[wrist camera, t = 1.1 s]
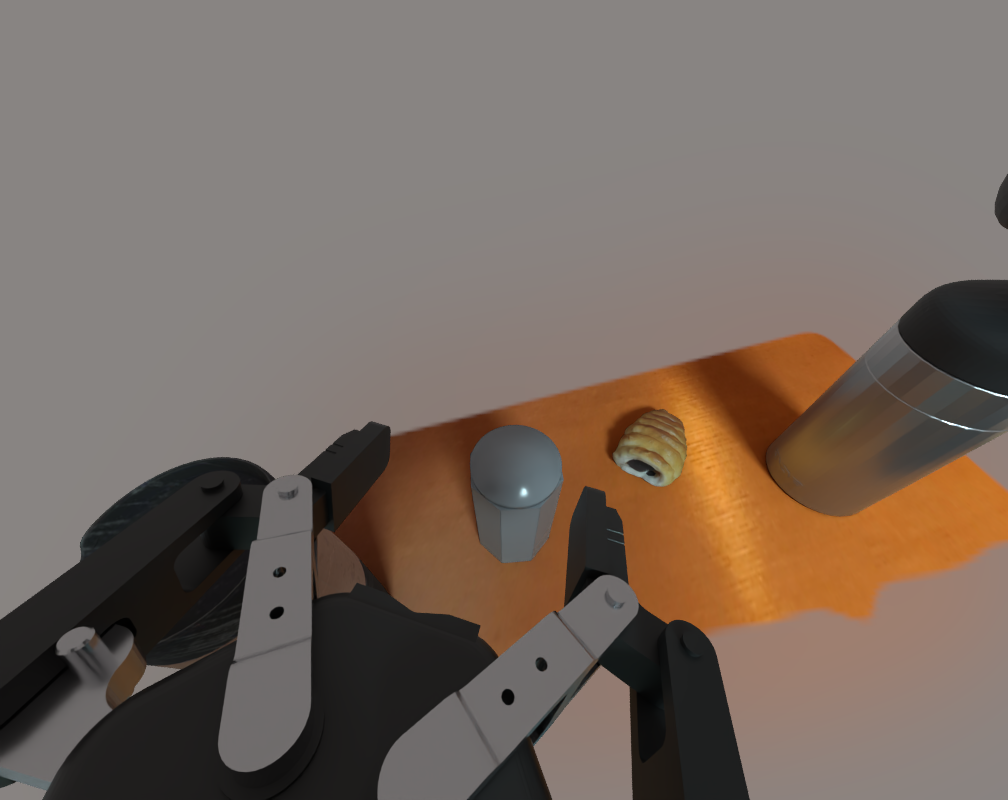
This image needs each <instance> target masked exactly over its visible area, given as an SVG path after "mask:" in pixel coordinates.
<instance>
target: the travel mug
mask: <svg viewBox="0 0 1008 800" xmlns="http://www.w3.org/2000/svg"><path fill="white" fill-rule="evenodd" d="M213 471H231V472H234V473H235V474H237V475H238V476H239V478H240V482H241V484H248V485H268V484H269V483H271V482H272V481H274V480H276V479H275V478H274V477H272V476H271V475H270V474H269V473H268V472H267V471H266V470H264V469H262V468H261V467H259V466H258V465H256V464H254V463H251V462H249V461H246V460H242V459H238V458H229V457H217V458H208V459H202V460H198V461H193V462H190V463H187V464H183V465H181V466H178V467H175V468H173V469H170V470H168V471H166V472H163V473H161V474H159V475H157V476H155V477H154V478H152V479H150V480H148V481H147V482H145V483H143V484H141V485H140V486H138V487H137V488H135V489H134V490H132V491H131V492H129V493H128V494H126V495H125V496H124V497H122V498H121V499H120V500H118V501H117V502H116V503H115V504H114V505H112V506H111V507H110V508H109V509H108V510H107V511H106V512H105V513H103V514H102V515H101V516H100V517H99V519H97V520H96V521H95V522H94V523H93V524H92V526H91V527H90V528H89V529H88V530H87V531H86V533H85V534H84V536H83V537H82V540H81V542H80V548H81V560H80V562H81V561H82V560H83V559H85V558H86V557H88V556H89V555H90V554H92V553H93V552H94V551H96V550H97V549H99V548H100V547H101V546H103V545H104V544H105V543H107V542H108V541H110V540H111V539H112V538H114V537H115V536H116V535H118V534H119V533H121V532H122V531H123V530H125V529H126V528H127V527H129V526H130V525H132V524H133V523H134V522H136V521H137V520H138V519H140V518H141V517H143V516H144V515H145V514H147V513H148V512H149V511H151V510H152V509H154V508H155V507H156V506H158V505H159V504H160V503H162V502H163V501H165V500H166V499H167V498H169V497H170V496H171V495H173V494H174V493H176V492H177V491H178V490H180V489H181V488H182V487H184V486H185V485H187V484H188V483H189V482H191V481H192V480H194V479H195V478H197V477H199V476H201V475H203V474H206V473H209V472H213ZM317 539H318V578H319V597H322V596H326V595H329V594H335V593H344V592H351V591H352V589H353V588H354V586H355V585H356V583H359V584H362V585H365V586H368V587H371V588H374V589H377V590H379V591H382V592H385V593H387V591H386V590H385V588H384V587H383V586H382V584H381V583H380V582H379V581H378V580H377V579H376V577H375V576H374V575H373V574H372V573H371V572H370V571H369V569H368V568H367V567H366V566H365V565H364V564H363V562H362V561H361V560H360V559H359V558H358V557H357V556H356V555H355V553H354V552H353V551H352V550H351V549H349V548H348V547H347V546H346V545H345V544H344V543H343V542H342V541H341V540H340V539H339V538H338V537H337V536H336V535H335V534H333V533H332V532H331V531H330V530H327V529H323V530H322V531H321V532H320V533H319V535H318V536H317ZM249 555H250V550H245V551H244V552H243V553H242V554H241V555H240V556H239V557H238V558H237V559H236V561H235V562H234V563H233V564H232V565H231V566H230V567H229V568H228V569H227V570H226V571H225V572H224V573H223V574H222V575H221V576H220V578H219V579H218V580H217V581H216V582H215V583H214V584H213V585H212V586H211V587H210V588H209V589H208V590H207V591H206V592H205V593H204V595H203V596H202V597H201V598H200V599H199V600H198V601H197V602H196V603H195V604H194V605H193V606H192V607H191V608H190V609H189V611H188V612H187V613H186V614H185V615H184V616H183V617H182V618H181V619H180V620H179V621H178V622H177V623H176V624H175V625H174V626H173V628H172V629H171V630H170V631H169V632H168V633H167V634H166V635H165V636H164V637H163V638H162V639H161V640H160V641H159V642H158V643H157V645H156V646H155V647H154V648H153V649H152V650H151V651H150V652H149V653H148V654H147V655H146V658H147V665H151V666H160V667H168V668H176V669H183V668H185V667H187V666H189V665H191V664H192V663H194V662H196V661H198V660H200V659H202V658H204V657H206V656H208V655H209V654H211V653H213V652H215V651H217V650H219V649H221V648H223V647H225V646H226V645H228V644H230V643H232V642H234V641H236V640H237V637H238V630H239V623H240V616H241V610H242V603H243V596H244V589H245V582H246V575H247V568H248V562H249ZM387 594H388V593H387Z"/></svg>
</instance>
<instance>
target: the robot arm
mask: <svg viewBox="0 0 1008 800" xmlns="http://www.w3.org/2000/svg"><path fill="white" fill-rule="evenodd" d="M995 215H996V217H997V219H998V221H999V223H1000V224H1001V225H1002V226H1003V227H1005V228H1006V229H1008V174H1007V176H1006V177H1005V179H1004V181H1003V183H1002V184H1001V186H1000V188H999V191H998V194H997V198H996V202H995ZM1006 432H1008V280H968V281H958V282H953V283H949V284H945V285H942V286H940V287H937V288H935V289H934V290H932V291H930V292H929V293H927V294H926V295H924V296H923V297H922V298H921V299H920V300H918V302H916V303H915V304H914V306H912V307H911V308H910V309H909V310H908V311H907V312H906V313H905V314H904V315H903V316H902V317H901V318H900V319H899V320H898V321H897V322H896V323H895V324H894V325H893V326H892V327H891V328H890V329H889V330H888V331H887V332H886V333H885V334H884V335H883V336H882V337H881V338H880V339H879V340H878V341H877V342H876V343H874V345H872V346H871V348H869V350H868V351H867V352H866V353H865V354H863V355H862V357H860V358H859V359H858V360H857V361H856V362H855V363H854V364H853V365H852V366H851V367H850V368H849V369H848V370H847V371H846V372H845V373H844V374H843V375H842V376H841V377H840V378H839V379H838V380H837V381H836V382H835V383H834V384H833V385H832V386H831V387H830V388H828V389H827V390H826V391H825V392H824V393H823V394H822V395H821V396H820V397H819V398H818V399H817V400H816V401H815V402H814V403H813V404H812V405H811V406H810V407H809V408H808V409H807V410H806V411H805V412H804V413H803V414H802V415H801V416H800V417H799V418H798V419H797V420H796V421H795V422H793V423H792V424H791V425H790V426H789V427H788V428H787V429H786V430H785V431H784V432H783V433H782V434H781V435H780V436H779V437H778V438H777V439H776V440H775V441H774V442H773V443H772V444H771V445H770V446H769V448H768V450H767V453H766V462H767V466H768V469H769V471H770V473H771V475H772V477H773V478H774V480H775V481H776V482H777V484H778V485H779V486H780V487H781V488H782V489H783V490H784V491H785V492H786V493H787V494H788V495H790V496H791V497H792V498H793V499H795V500H796V501H798V502H799V503H801V504H803V505H804V506H806V507H808V508H810V509H813V510H815V511H817V512H820V513H824V514H827V515H833V516H850V515H853V514H856V513H858V512H860V511H862V510H864V509H866V508H867V507H869V506H871V505H873V504H875V503H877V502H879V501H880V500H882V499H884V498H886V497H888V496H890V495H892V494H894V493H896V492H897V491H899V490H901V489H903V488H905V487H907V486H908V485H910V484H912V483H914V482H916V481H918V480H919V479H921V478H923V477H925V476H927V475H929V474H931V473H932V472H934V471H936V470H938V469H940V468H942V467H943V466H945V465H947V464H949V463H951V462H953V461H954V460H956V459H958V458H960V457H962V456H964V455H966V454H967V453H969V452H971V451H973V450H975V449H977V448H978V447H980V446H982V445H984V444H986V443H987V442H989V441H991V440H993V439H995V438H997V437H999V436H1000V435H1002V434H1004V433H1006ZM390 433H391V430H390V427H389V426H385V425H382V424H379V423H376V422H369V423H368V424H367V425H366V426H365V427H364V428H363V429H361V430H360V431H358V430H353V431H350V432H348V433H346V434H343V435H342V436H341V437H340V438H338V439H337V440H336V441H335V442H334V443H333V445H330V446H329V447H328V448H327V449H326V451H324V452H323V453H321V454H320V455H319V456H318V457H317V458H316V459H315V460H314V461H313V462H311V463H310V464H309V465H308V466H307V467H306V468H305V469H303V470H302V471H301V472H300V473H299V474H298V475H288V476H283V477H280V478H278V479H276V480H274V481H272V482H271V483H269V484H268V485H248V484H241V482H240V478H239V476H238V475H237V474H235V473H234V472H231V471H213V472H209V473H206V474H203V475H201V476H199V477H197V478H195V479H194V480H192V481H191V482H189V483H188V484H187V485H185V486H184V487H182V488H181V489H180V490H178V491H177V492H176V493H174V494H173V495H171V496H170V497H169V498H167V499H166V500H165V501H163V502H162V503H160V504H159V505H158V506H156V507H155V508H154V509H152V510H151V511H149V512H148V513H147V514H145V515H144V516H143V517H141V518H140V519H138V520H137V521H136V522H134V523H133V524H132V525H130V526H129V527H127V528H126V529H125V530H123V531H122V532H121V533H119V534H118V535H116V536H115V537H114V538H112V539H111V540H110V541H108V542H107V543H105V544H104V545H103V546H101V547H100V548H99V549H97V550H96V551H94V552H93V553H92V554H90V555H89V556H88V557H86V558H85V559H83V560H82V561H81V562H79V563H78V564H77V565H75V566H74V567H72V568H71V569H70V570H68V571H67V572H66V573H64V574H63V575H61V576H60V577H59V578H57V579H56V580H55V581H53V582H52V583H50V584H49V585H48V586H46V587H45V588H44V589H42V590H41V591H40V592H38V593H37V594H35V595H34V596H33V597H32V598H30V599H28V600H27V601H26V602H24V603H23V604H22V605H20V606H19V607H18V608H16V609H15V610H13V611H12V612H11V613H9V614H8V615H6V616H5V617H4V618H2V619H1V620H0V788H2V787H5V786H8V785H10V784H13V783H15V782H20V783H24V784H27V785H30V786H33V787H36V788H39V789H43V790H46V791H47V792H46V794H45V796H44V797H43V799H42V800H552V798H551V795H550V792H549V789H548V787H547V784H546V781H545V778H544V775H543V773H542V770H541V767H540V764H539V761H538V758H537V756H536V753H535V750H534V747H533V746H534V745H535V744H536V743H537V742H538V740H539V739H540V738H541V737H542V736H543V735H544V733H545V732H546V731H547V730H548V729H549V728H550V726H551V725H552V724H553V723H554V721H555V720H556V719H557V718H558V716H559V715H560V714H561V712H562V711H563V710H564V708H565V707H566V706H567V705H568V704H569V702H570V701H571V700H572V699H573V698H574V697H575V695H576V694H577V693H578V692H579V691H580V690H581V688H582V687H583V686H584V685H585V684H586V683H587V681H588V680H589V679H590V678H591V677H592V676H593V675H594V673H595V672H596V671H597V670H598V669H599V668H600V666H601V665H602V666H603V667H604V668H606V669H607V670H608V671H610V672H611V673H612V674H614V675H615V676H616V677H618V678H619V679H620V680H622V681H623V682H625V683H626V684H627V685H628V686H630V715H631V716H630V718H631V754H632V790H633V800H750V799H749V795H748V790H747V786H746V782H745V777H744V773H743V768H742V764H741V760H740V755H739V751H738V747H737V742H736V738H735V734H734V729H733V725H732V720H731V716H730V712H729V707H728V703H727V699H726V694H725V690H724V685H723V681H722V677H721V672H720V668H719V664H718V659H717V655H716V652H715V650H714V647H713V646H712V644H711V642H710V641H709V639H708V638H707V637H706V635H705V634H704V633H703V632H702V631H701V630H700V629H698V628H697V627H696V626H694V625H692V624H691V623H689V622H686V621H683V620H674V621H671V622H670V623H669V624H666V623H665V622H663V621H662V620H660V619H659V618H657V617H656V616H654V615H653V614H651V613H650V612H648V611H647V610H645V609H644V608H643V607H642V606H641V605H640V604H639V603H638V600H637V597H636V595H635V593H634V591H633V590H632V589H631V587H630V586H629V584H628V575H627V565H626V555H625V546H624V536H623V524H622V520H621V518H620V516H619V515H618V513H617V511H616V509H613V508H610V507H607V506H606V495H605V492H604V491H601V490H597V489H594V488H591V487H587V486H585V487H584V489H583V491H582V494H581V496H580V499H579V501H578V503H577V506H576V508H575V511H574V513H573V516H572V520H571V524H570V531H569V546H568V560H567V574H566V588H565V603H564V608H563V609H562V610H561V611H559V612H558V613H557V612H556V611H553V612H551V613H550V614H548V615H547V616H546V617H545V618H544V619H542V620H541V621H540V622H539V623H538V624H537V625H535V626H534V627H533V628H532V629H531V630H530V631H529V632H527V633H526V634H525V635H524V636H523V637H522V638H520V639H519V640H518V641H517V642H516V643H515V644H513V645H512V646H511V647H510V648H509V649H508V650H507V651H505V652H504V653H503V654H502V655H501V656H500V657H498V656H497V654H496V653H495V651H494V650H493V649H492V648H491V647H490V646H489V645H488V644H487V643H486V642H485V641H484V640H483V639H481V638H480V637H479V636H478V633H479V629H480V625H477V624H475V623H472V622H469V621H466V620H463V619H460V618H457V617H454V616H452V615H446V614H430V613H416V612H413V611H411V610H409V609H408V608H407V607H405V606H404V605H403V604H401V603H400V602H398V601H397V600H396V599H394V598H393V597H391V596H390V595H389V594H387V593H385V592H382V591H379V590H377V589H374V588H371V587H368V586H365V585H362V584H359V583H356V585H355V586H354V588H353V589H352V591H351V592H344V593H335V594H329V595H326V596H322V597H319V578H318V539H317V536H318V535H319V533H320V532H321V531H322V530H323V529H327V530H330V531H333V532H335V531H336V530H337V528H338V527H339V526H340V525H341V523H342V522H343V521H344V520H345V518H346V517H347V516H348V515H349V513H350V512H351V511H352V510H353V508H354V507H355V506H356V505H357V503H358V502H359V501H360V500H361V499H362V497H363V496H364V495H365V494H366V492H367V491H368V490H369V489H370V487H371V486H372V485H373V484H374V482H375V481H376V480H377V479H378V477H379V476H380V475H381V474H382V473H383V471H384V470H385V468H386V466H387V464H388V461H389V456H390ZM245 550H250V555H249V562H248V568H247V575H246V582H245V589H244V596H243V603H242V610H241V616H240V623H239V630H238V637H237V640H236V641H234V642H232V643H230V644H228V645H226V646H225V647H223V648H221V649H219V650H217V651H215V652H213V653H211V654H209V655H208V656H206V657H204V658H202V659H200V660H198V661H196V662H194V663H192V664H191V665H189V666H187V667H185V668H183V669H181V670H179V671H177V672H175V673H174V674H172V675H170V676H168V677H166V678H164V679H162V680H161V681H158V682H157V683H155V684H153V685H151V686H149V687H147V688H145V689H143V690H142V691H140V692H138V693H136V694H135V695H133V696H131V695H132V693H133V691H134V688H135V686H136V685H137V683H138V682H139V681H140V679H141V677H142V676H143V674H144V672H145V669H146V665H147V658H146V655H147V654H148V653H149V652H150V651H151V650H152V649H153V648H154V647H155V646H156V645H157V643H158V642H159V641H160V640H161V639H162V638H163V637H164V636H165V635H166V634H167V633H168V632H169V631H170V630H171V629H172V628H173V626H174V625H175V624H176V623H177V622H178V621H179V620H180V619H181V618H182V617H183V616H184V615H185V614H186V613H187V612H188V611H189V609H190V608H191V607H192V606H193V605H194V604H195V603H196V602H197V601H198V600H199V599H200V598H201V597H202V596H203V595H204V593H205V592H206V591H207V590H208V589H209V588H210V587H211V586H212V585H213V584H214V583H215V582H216V581H217V580H218V579H219V578H220V576H221V575H222V574H223V573H224V572H225V571H226V570H227V569H228V568H229V567H230V566H231V565H232V564H233V563H234V562H235V561H236V559H237V558H238V557H239V556H240V555H241V554H242V553H243V552H244V551H245ZM130 696H131V697H130Z"/></svg>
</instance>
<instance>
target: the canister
mask: <svg viewBox="0 0 1008 800" xmlns="http://www.w3.org/2000/svg"><path fill="white" fill-rule="evenodd" d="M470 470H471V489H472V495H473V502H474V508H475V514H476V520H477V526H478V532H479V538H480V544H482V545H483V546H484V547H485V548H486V549H487V550H488V551H489V552H490V553H491V554H493V555H494V556H495V557H496V558H497V559H498V560H499V561H500V562H501V563H508V562H520V561H531V560H532V559H533V558H534V556H535V555H536V554H537V552H538V551H539V550H540V548H541V547H542V546H543V545H544V543H545V542H546V541H547V539H548V538H549V534H550V530H551V526H552V522H553V518H554V515H555V511H556V507H557V503H558V499H559V495H560V491H561V487H562V483H563V480H564V479H563V475H562V461H561V457H560V453H559V451H558V449H557V447H556V446H555V444H554V443H553V442H552V440H551V439H550V438H549V437H547V436H546V435H545V434H543V433H542V432H540V431H538V430H536V429H534V428H531V427H527V426H522V425H508V426H503V427H499V428H496V429H494V430H492V431H490V432H489V433H487V434H486V435H484V436H483V437H482V438H481V439H480V440H479V441H478V443H477V444H476V446H475V447H474V449H473V451H472V452H471V454H470Z"/></svg>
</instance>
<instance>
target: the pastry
mask: <svg viewBox="0 0 1008 800" xmlns="http://www.w3.org/2000/svg"><path fill="white" fill-rule="evenodd" d="M684 430H685V429H684V426H683V423H682V421H681V420H680V419H678V418H677V417H675V416H674V415H672V414H670V413H668V412H667V411H666V410H664V409H660V410H653V411H650V412H649V413H645V414H643V415H642V416H641V418H639V419H637V420H636V421H635V423H634V424H631V425H630V426H629V427H628V428H626V430H625V435H623V436H622V438H621V439H620V442H619V445H618V447H617V449H616V451H615V452H614V453H613V459H614V461H615V462H616V464H617V465H618V466H620V467H621V469H622V470H624V471H626V472H627V473H629V474H632V475H635V476H638V477H641V478H643V479H644V480H645V481H647V482H648V483H650V484H652V485H654V486H667V485H669V484H671V483H672V482H673V481H674V480H675V479H676V478H677V477H679V476H680V474H681V472H682V468H683V465H684V461H685V459H686V456H687V454H686V450H687V445H686V438H685V434H684Z"/></svg>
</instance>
